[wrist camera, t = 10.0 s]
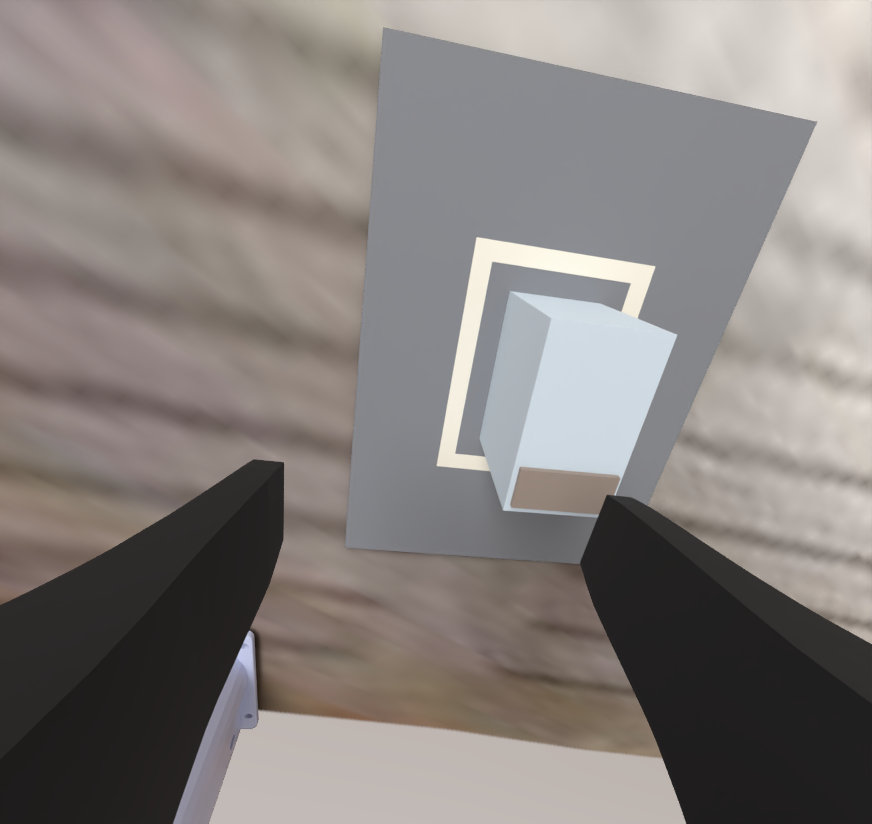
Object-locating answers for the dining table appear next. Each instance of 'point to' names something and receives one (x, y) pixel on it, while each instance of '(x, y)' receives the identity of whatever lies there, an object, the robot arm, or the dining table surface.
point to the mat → (536, 267)
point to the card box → (568, 402)
